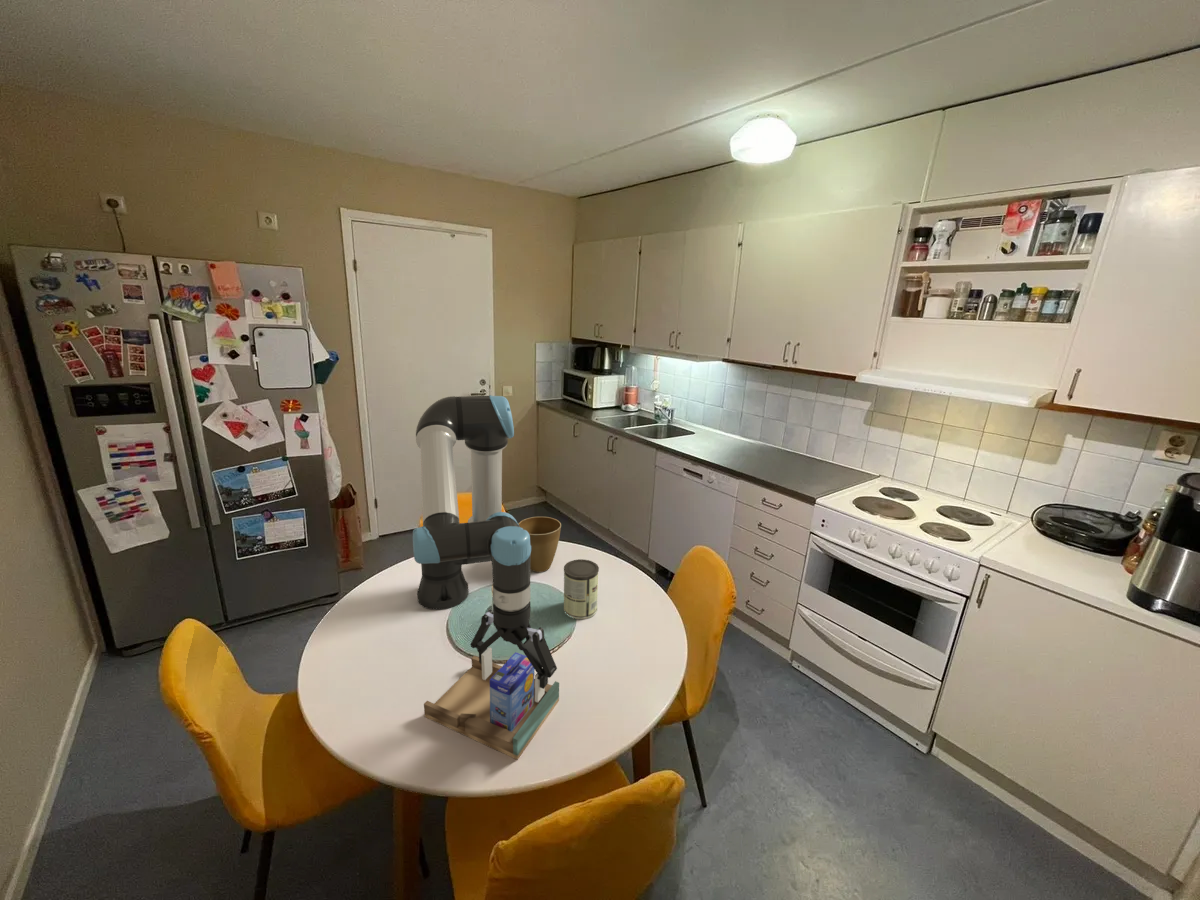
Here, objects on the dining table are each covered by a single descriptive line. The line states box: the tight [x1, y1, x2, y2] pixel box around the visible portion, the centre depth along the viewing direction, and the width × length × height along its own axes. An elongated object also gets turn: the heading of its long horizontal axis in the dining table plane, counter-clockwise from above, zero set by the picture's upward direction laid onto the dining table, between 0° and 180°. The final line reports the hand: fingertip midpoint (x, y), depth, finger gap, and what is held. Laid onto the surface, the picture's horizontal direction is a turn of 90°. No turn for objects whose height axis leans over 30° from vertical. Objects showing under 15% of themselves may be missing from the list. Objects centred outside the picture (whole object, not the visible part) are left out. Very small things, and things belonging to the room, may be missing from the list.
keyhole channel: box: [423, 655, 560, 761], centre depth 107 cm, size 24×17×5 cm
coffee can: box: [563, 558, 600, 620], centre depth 143 cm, size 10×10×14 cm
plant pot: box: [517, 516, 562, 573], centre depth 166 cm, size 15×15×16 cm
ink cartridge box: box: [490, 651, 536, 732], centre depth 103 cm, size 10×6×14 cm, turn 156°
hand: (512, 686), depth 104 cm, fingers open, 13 cm apart
